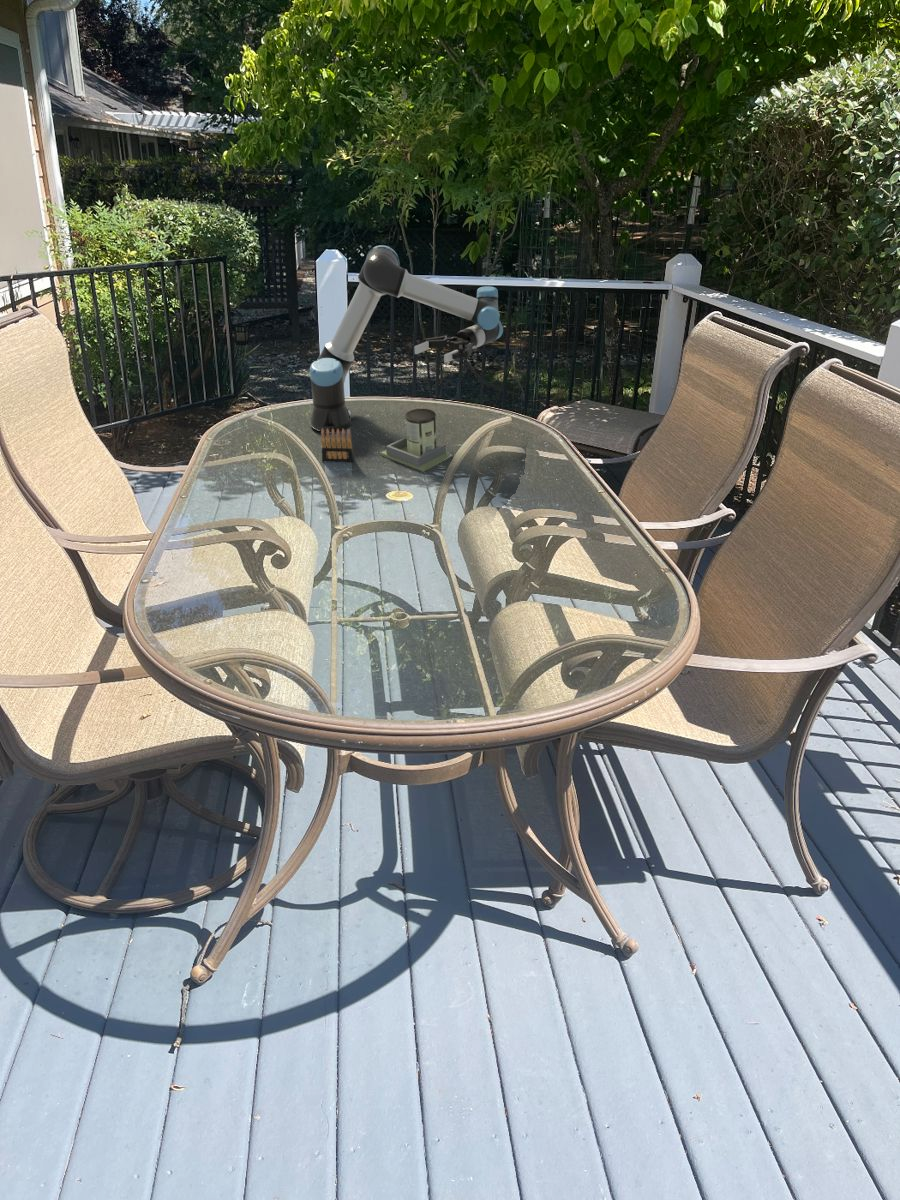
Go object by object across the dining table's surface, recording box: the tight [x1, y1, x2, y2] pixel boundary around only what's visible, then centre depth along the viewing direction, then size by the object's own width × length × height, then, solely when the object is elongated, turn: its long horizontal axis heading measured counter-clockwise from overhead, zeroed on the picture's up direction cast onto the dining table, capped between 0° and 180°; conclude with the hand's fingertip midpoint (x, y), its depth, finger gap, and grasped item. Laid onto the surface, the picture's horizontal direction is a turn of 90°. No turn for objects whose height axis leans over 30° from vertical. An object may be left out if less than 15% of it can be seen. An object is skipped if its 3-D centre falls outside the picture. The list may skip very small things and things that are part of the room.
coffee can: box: [404, 408, 437, 456], centre depth 300 cm, size 10×10×14 cm
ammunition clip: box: [320, 428, 355, 463], centre depth 298 cm, size 11×2×12 cm, turn 87°
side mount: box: [379, 435, 449, 473], centre depth 303 cm, size 20×15×4 cm
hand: (429, 354), depth 301 cm, fingers open, 13 cm apart
